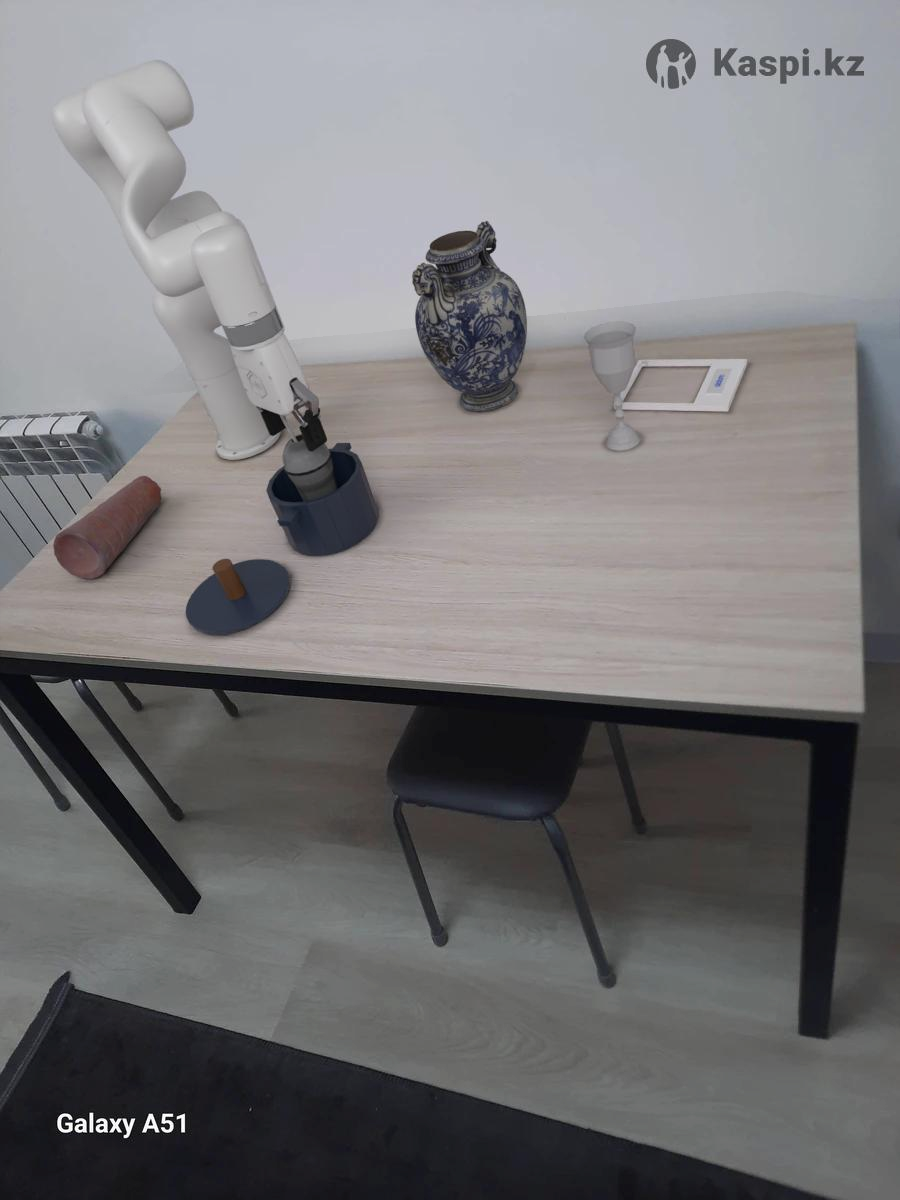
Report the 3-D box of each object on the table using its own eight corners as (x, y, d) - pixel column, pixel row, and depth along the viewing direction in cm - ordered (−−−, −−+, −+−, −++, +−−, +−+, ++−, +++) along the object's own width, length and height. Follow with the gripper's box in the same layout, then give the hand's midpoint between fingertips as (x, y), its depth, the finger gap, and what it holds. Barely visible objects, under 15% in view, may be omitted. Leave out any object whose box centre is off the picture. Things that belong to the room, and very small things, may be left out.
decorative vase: (479, 363, 164) (444, 213, 146) (563, 371, 153) (536, 211, 135) (413, 422, 152) (367, 267, 135) (499, 435, 142) (461, 269, 124)
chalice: (594, 453, 131) (578, 345, 120) (605, 429, 136) (590, 322, 124) (641, 454, 128) (629, 342, 117) (651, 429, 133) (640, 319, 121)
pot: (264, 565, 130) (240, 515, 124) (322, 487, 143) (302, 439, 137) (347, 570, 124) (326, 518, 118) (399, 488, 137) (383, 438, 131)
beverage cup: (347, 536, 129) (302, 421, 117) (304, 539, 132) (255, 427, 119) (360, 507, 135) (318, 394, 122) (318, 511, 137) (272, 400, 124)
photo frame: (727, 405, 130) (613, 403, 139) (727, 411, 131) (614, 409, 139) (747, 357, 139) (638, 358, 148) (747, 364, 140) (639, 364, 148)
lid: (168, 633, 123) (147, 598, 118) (224, 562, 133) (206, 528, 129) (258, 642, 116) (239, 606, 112) (309, 567, 127) (293, 532, 122)
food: (115, 579, 137) (86, 536, 131) (68, 580, 140) (38, 538, 134) (175, 499, 152) (152, 457, 146) (131, 502, 155) (107, 461, 149)
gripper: (197, 330, 116) (245, 438, 127) (267, 350, 105) (313, 466, 116) (241, 306, 119) (285, 413, 130) (313, 323, 108) (354, 438, 119)
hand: (298, 438), depth 123 cm, fingers open, 9 cm apart
